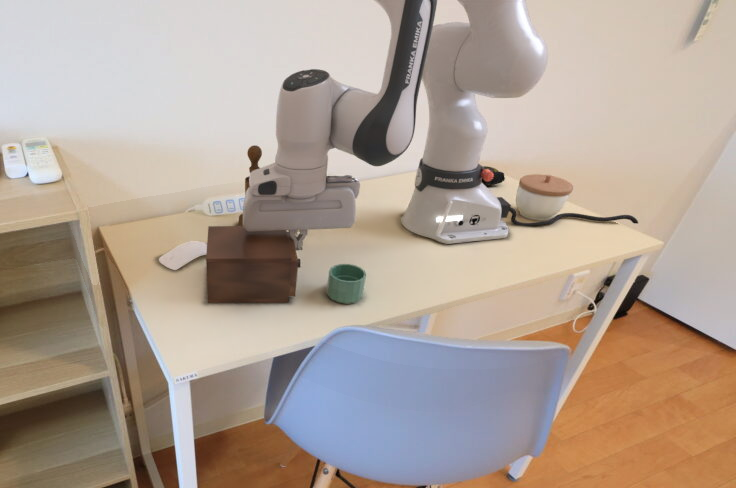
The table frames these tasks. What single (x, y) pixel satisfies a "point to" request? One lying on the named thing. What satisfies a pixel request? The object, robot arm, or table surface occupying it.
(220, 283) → the cabinet
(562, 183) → the trinket box
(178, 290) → the table surface
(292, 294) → the drawer
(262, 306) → the table surface
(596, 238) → the table surface
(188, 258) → the white curved flat piece
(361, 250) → the table surface
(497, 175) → the tape measure
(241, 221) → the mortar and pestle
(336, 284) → the cylindrical container
